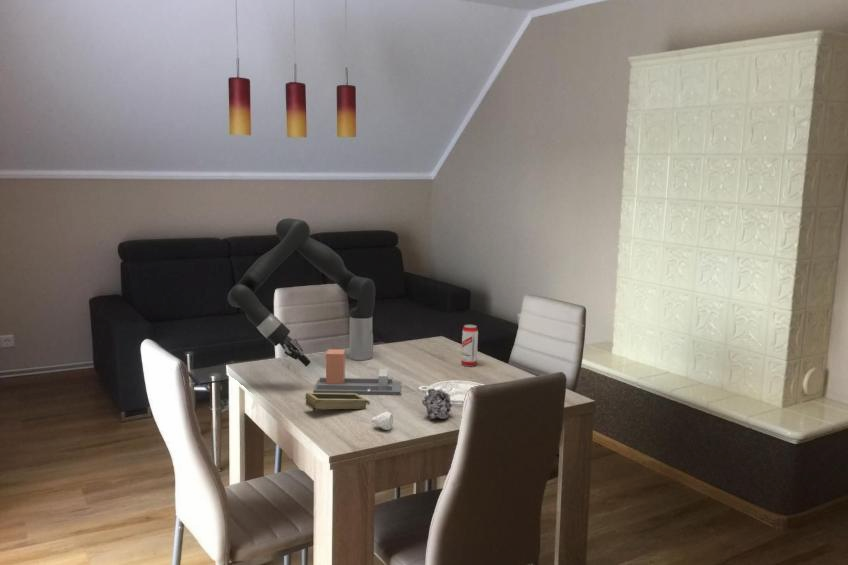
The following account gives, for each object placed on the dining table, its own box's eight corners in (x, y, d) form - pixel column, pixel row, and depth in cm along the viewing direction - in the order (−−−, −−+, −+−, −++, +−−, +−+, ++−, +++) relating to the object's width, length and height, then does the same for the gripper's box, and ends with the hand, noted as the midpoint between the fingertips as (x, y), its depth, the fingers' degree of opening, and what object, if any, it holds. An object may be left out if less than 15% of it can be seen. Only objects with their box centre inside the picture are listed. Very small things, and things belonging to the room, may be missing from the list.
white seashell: (375, 424, 222) (375, 407, 221) (393, 426, 220) (394, 409, 219) (368, 430, 217) (369, 413, 216) (387, 433, 215) (388, 415, 214)
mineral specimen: (426, 393, 240) (433, 373, 232) (454, 406, 238) (461, 386, 231) (411, 422, 230) (417, 402, 223) (439, 436, 229) (446, 416, 221)
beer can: (468, 361, 294) (469, 323, 291) (480, 365, 290) (481, 326, 287) (457, 364, 290) (459, 325, 287) (469, 368, 285) (471, 328, 283)
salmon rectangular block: (326, 387, 252) (326, 353, 250) (327, 381, 258) (328, 349, 256) (343, 387, 252) (343, 354, 250) (344, 382, 258) (344, 349, 256)
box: (302, 407, 231) (304, 392, 231) (362, 406, 245) (364, 392, 244) (313, 415, 225) (316, 400, 224) (374, 414, 238) (377, 399, 238)
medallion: (483, 412, 237) (483, 405, 236) (406, 400, 246) (406, 394, 245) (500, 391, 258) (501, 385, 258) (429, 381, 267) (430, 375, 267)
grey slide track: (313, 393, 249) (313, 376, 248) (317, 383, 261) (317, 366, 260) (400, 395, 250) (400, 377, 249) (400, 384, 262) (400, 368, 261)
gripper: (277, 326, 244) (313, 362, 247) (284, 318, 257) (318, 352, 260) (262, 341, 245) (298, 376, 247) (269, 332, 258) (303, 366, 261)
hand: (308, 364), depth 254 cm, fingers closed
